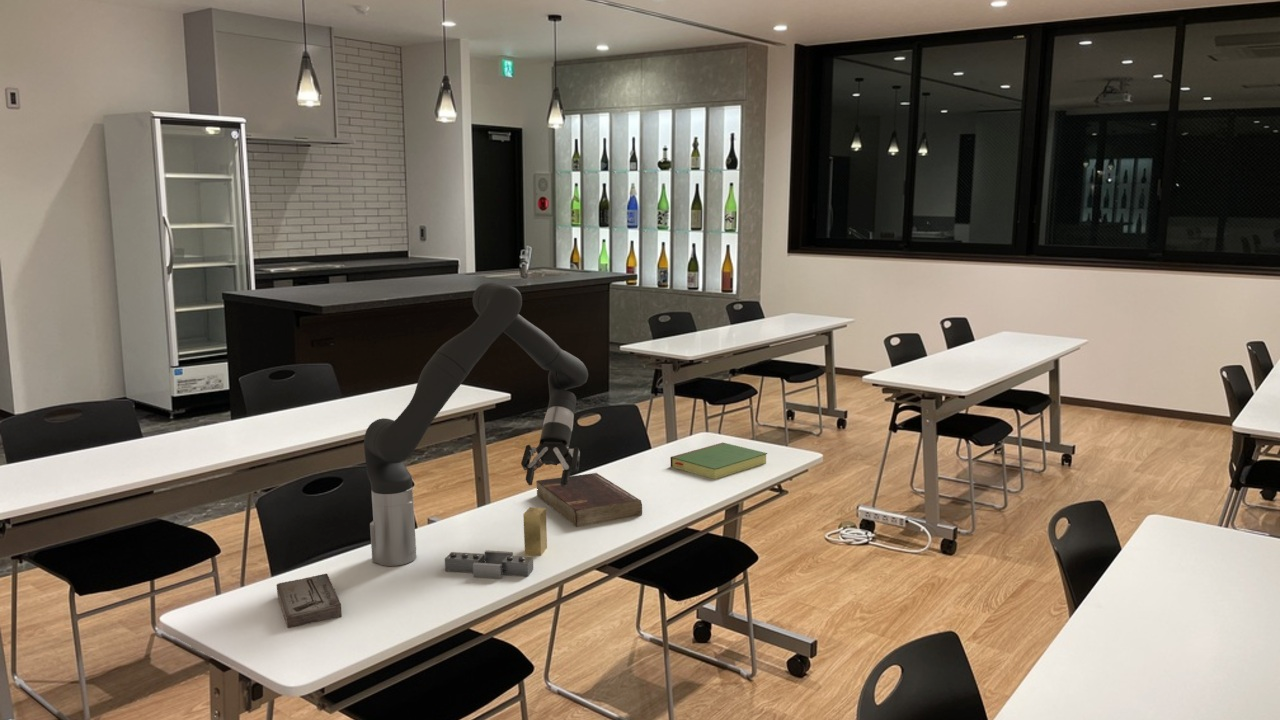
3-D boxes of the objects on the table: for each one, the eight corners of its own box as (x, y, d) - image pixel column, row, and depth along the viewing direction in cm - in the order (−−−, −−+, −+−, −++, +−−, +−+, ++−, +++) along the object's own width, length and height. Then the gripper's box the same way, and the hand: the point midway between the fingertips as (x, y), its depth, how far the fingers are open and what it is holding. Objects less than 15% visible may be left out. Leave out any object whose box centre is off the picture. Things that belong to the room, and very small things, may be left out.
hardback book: (642, 517, 248) (642, 498, 247) (576, 528, 240) (576, 510, 239) (597, 488, 273) (597, 471, 273) (537, 497, 265) (536, 480, 264)
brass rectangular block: (524, 554, 221) (523, 514, 220) (531, 546, 226) (529, 507, 224) (541, 555, 221) (539, 514, 219) (547, 547, 225) (545, 508, 224)
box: (328, 585, 204) (327, 572, 204) (343, 617, 189) (341, 603, 189) (276, 596, 200) (274, 583, 199) (287, 630, 184) (285, 616, 184)
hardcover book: (722, 453, 308) (722, 442, 308) (767, 464, 295) (767, 453, 294) (668, 469, 292) (668, 457, 291) (713, 481, 278) (713, 469, 278)
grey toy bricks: (441, 574, 210) (440, 560, 209) (455, 560, 218) (455, 546, 217) (524, 580, 206) (524, 565, 206) (536, 565, 214) (535, 551, 214)
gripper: (527, 419, 238) (514, 476, 229) (581, 421, 236) (571, 478, 226) (534, 435, 244) (522, 490, 235) (587, 436, 242) (577, 493, 232)
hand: (546, 484), depth 231 cm, fingers open, 8 cm apart
